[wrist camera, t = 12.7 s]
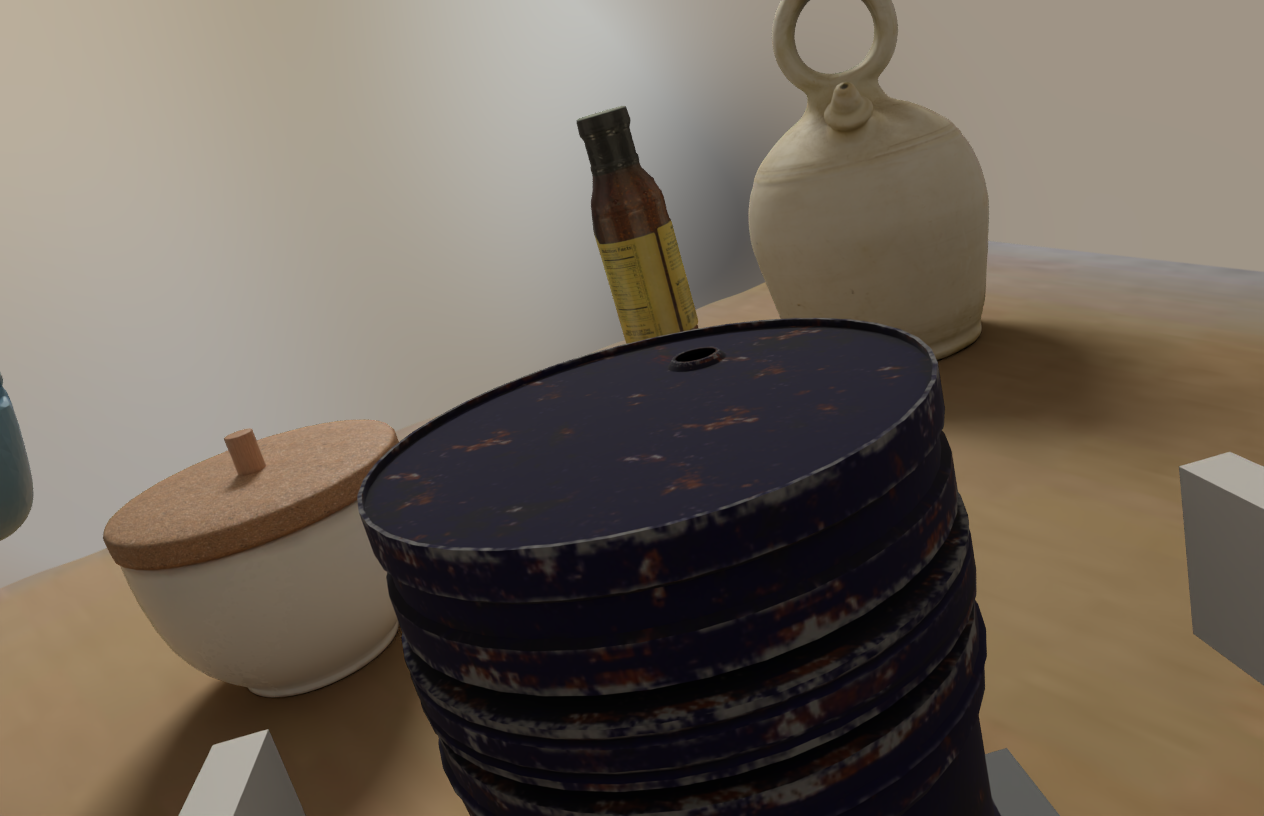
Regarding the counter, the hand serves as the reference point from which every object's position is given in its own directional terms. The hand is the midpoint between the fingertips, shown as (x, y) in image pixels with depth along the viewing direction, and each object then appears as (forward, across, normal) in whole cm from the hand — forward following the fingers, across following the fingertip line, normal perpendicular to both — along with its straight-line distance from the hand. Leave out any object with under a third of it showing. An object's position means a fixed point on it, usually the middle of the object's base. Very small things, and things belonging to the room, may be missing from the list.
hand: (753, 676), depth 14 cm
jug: (+52, +20, -13) cm, 57 cm away
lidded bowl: (+30, -16, -13) cm, 36 cm away
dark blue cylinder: (+4, 0, -12) cm, 13 cm away
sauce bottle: (+66, +6, -12) cm, 67 cm away
